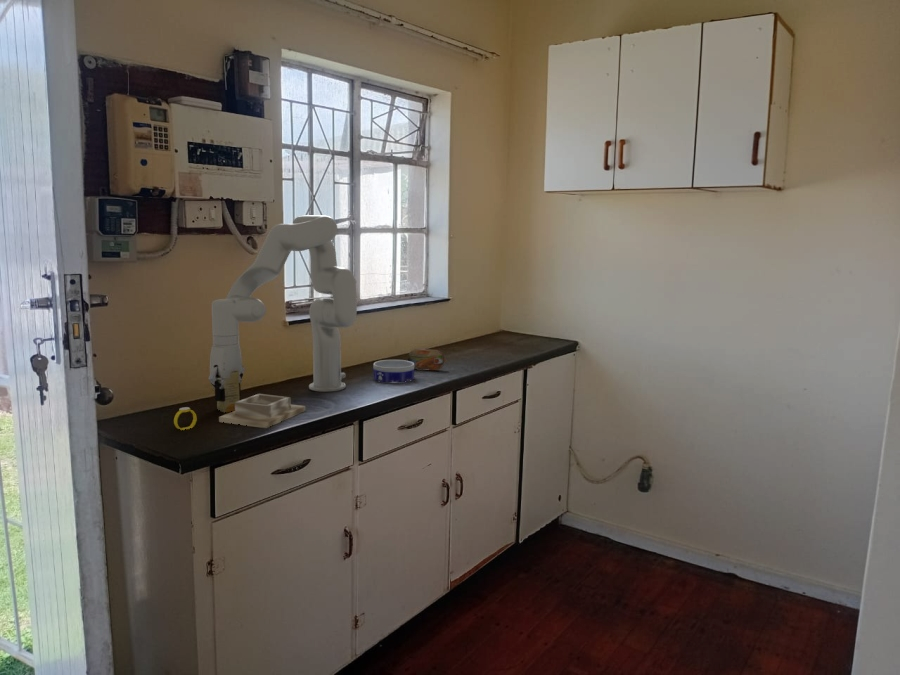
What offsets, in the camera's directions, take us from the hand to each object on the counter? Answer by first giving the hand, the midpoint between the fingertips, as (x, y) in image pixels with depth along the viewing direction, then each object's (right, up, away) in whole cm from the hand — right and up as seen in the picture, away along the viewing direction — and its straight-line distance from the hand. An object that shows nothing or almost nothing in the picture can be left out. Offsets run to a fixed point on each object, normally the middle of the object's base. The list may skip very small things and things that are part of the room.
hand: (228, 397), depth 207 cm
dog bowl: (+47, +3, +47) cm, 66 cm away
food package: (+58, +5, +64) cm, 87 cm away
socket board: (+12, -5, -6) cm, 15 cm away
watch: (-5, -7, -20) cm, 21 cm away
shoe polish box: (0, -4, +1) cm, 4 cm away
